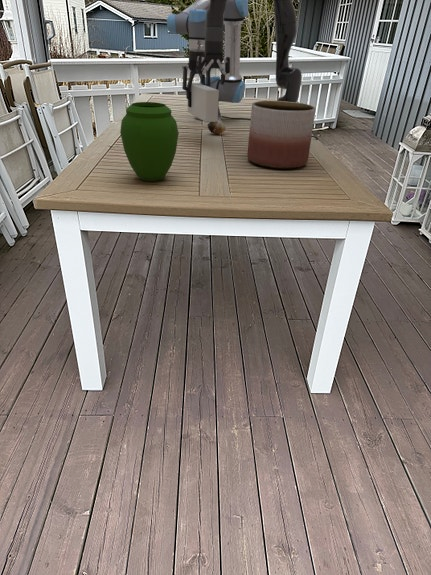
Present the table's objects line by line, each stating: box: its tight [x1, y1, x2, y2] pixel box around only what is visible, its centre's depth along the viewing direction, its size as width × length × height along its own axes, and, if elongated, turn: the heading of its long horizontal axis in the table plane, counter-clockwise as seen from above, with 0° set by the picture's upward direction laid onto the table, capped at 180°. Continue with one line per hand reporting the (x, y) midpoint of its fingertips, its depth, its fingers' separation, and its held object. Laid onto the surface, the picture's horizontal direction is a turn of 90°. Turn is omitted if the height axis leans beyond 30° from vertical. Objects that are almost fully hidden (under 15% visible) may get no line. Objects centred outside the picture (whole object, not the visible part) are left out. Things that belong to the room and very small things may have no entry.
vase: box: [119, 101, 179, 182], centre depth 140 cm, size 20×20×24 cm
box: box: [187, 82, 219, 123], centre depth 188 cm, size 24×6×13 cm, turn 22°
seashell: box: [207, 118, 227, 135], centre depth 211 cm, size 10×6×8 cm, turn 97°
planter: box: [246, 100, 317, 170], centre depth 167 cm, size 25×25×22 cm
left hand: (196, 106), depth 195 cm, fingers closed on box, 6 cm apart
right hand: (212, 84), depth 173 cm, fingers open, 8 cm apart
